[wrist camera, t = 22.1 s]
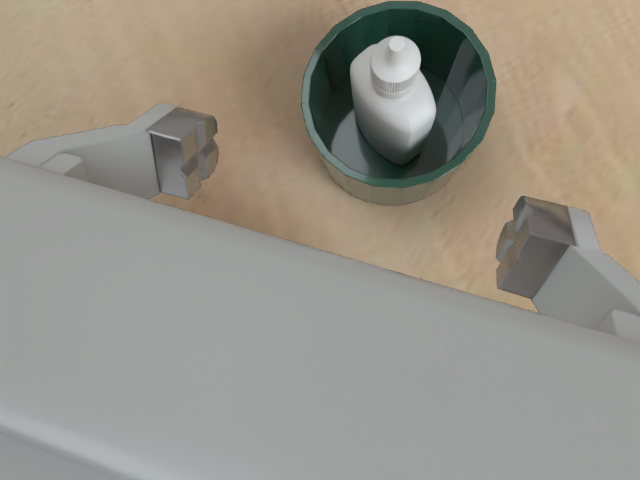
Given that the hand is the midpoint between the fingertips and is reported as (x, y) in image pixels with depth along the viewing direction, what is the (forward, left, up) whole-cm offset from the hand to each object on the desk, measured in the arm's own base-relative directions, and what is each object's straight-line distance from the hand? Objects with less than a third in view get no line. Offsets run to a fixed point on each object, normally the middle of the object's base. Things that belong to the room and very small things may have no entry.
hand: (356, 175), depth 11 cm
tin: (+8, -1, -20) cm, 22 cm away
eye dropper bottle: (+8, -1, -20) cm, 21 cm away
